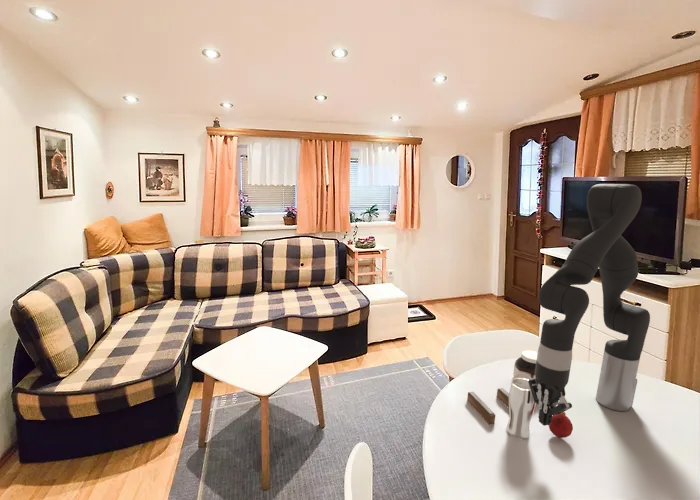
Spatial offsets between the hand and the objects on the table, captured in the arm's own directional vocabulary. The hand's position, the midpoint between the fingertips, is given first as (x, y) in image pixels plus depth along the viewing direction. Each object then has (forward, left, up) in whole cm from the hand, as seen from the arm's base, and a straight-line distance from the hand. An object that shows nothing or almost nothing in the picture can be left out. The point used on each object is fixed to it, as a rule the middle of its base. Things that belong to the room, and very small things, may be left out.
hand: (544, 423), depth 99 cm
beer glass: (0, -9, -9) cm, 13 cm away
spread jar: (-18, -28, -9) cm, 34 cm away
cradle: (0, -19, -9) cm, 21 cm away
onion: (-10, -4, -9) cm, 14 cm away
